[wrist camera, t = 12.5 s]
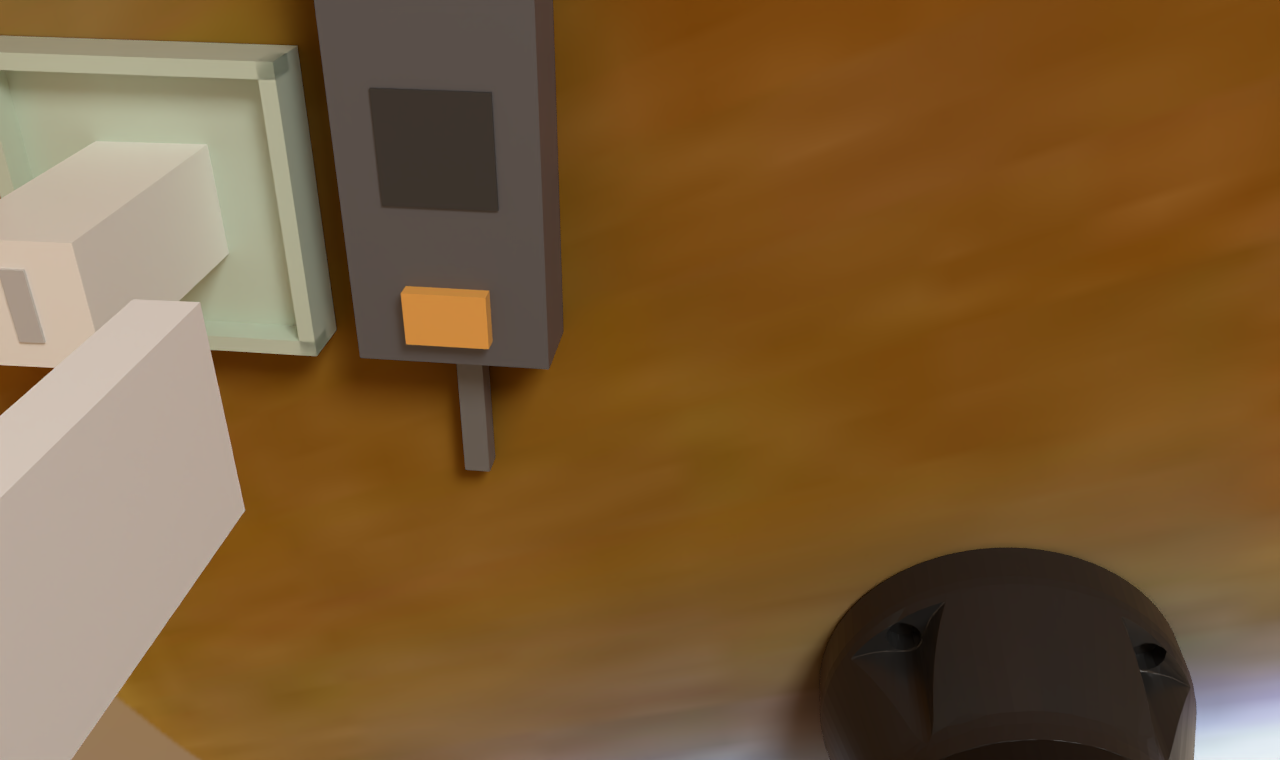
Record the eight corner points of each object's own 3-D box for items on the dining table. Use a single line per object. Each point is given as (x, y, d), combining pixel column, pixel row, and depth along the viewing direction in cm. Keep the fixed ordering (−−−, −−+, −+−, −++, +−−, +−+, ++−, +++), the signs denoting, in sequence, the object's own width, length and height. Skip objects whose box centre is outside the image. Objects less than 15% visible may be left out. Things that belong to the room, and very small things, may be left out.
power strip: (567, 462, 48) (551, 514, 45) (400, 451, 49) (372, 502, 45) (539, -430, 33) (511, -445, 30) (298, -428, 34) (247, -443, 31)
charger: (229, 253, 44) (103, 371, 36) (122, 249, 44) (-25, 365, 36) (207, 144, 42) (69, 244, 34) (95, 141, 42) (-66, 239, 34)
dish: (336, 329, 46) (316, 356, 44) (70, 314, 47) (40, 339, 45) (297, 45, 41) (272, 62, 39) (-2, 35, 42) (-41, 51, 40)
